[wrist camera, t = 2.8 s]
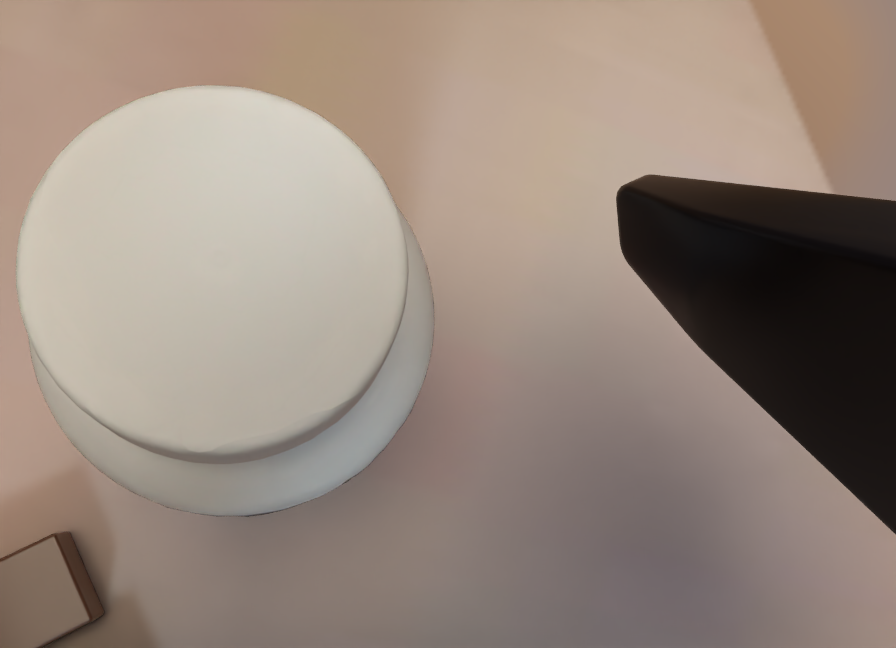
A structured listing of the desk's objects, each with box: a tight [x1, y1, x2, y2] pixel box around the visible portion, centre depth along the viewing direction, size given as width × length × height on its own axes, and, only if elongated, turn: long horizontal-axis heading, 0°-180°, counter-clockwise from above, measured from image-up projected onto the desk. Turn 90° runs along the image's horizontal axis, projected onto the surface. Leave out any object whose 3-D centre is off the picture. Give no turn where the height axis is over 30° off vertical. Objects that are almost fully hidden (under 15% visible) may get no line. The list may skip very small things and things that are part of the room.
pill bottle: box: [16, 85, 434, 517], centre depth 13 cm, size 5×5×10 cm
